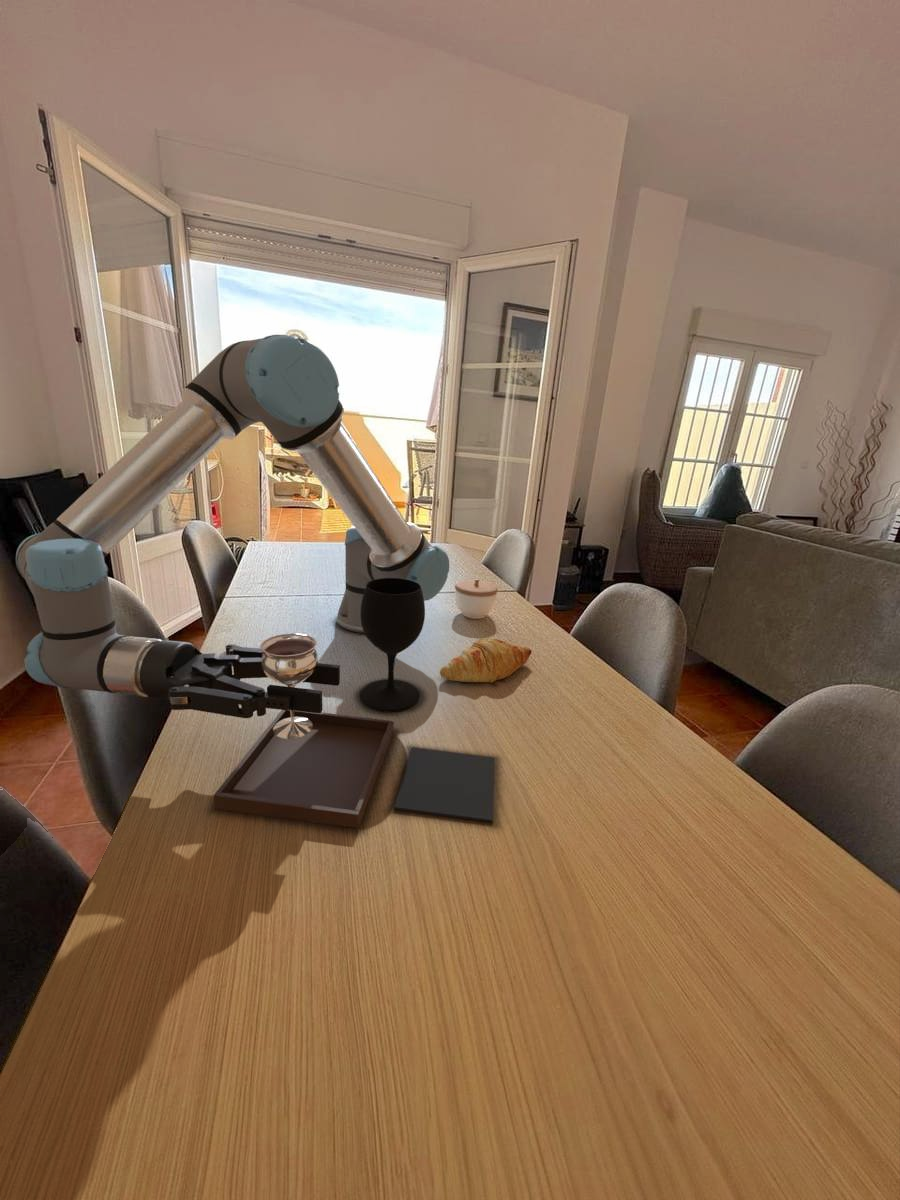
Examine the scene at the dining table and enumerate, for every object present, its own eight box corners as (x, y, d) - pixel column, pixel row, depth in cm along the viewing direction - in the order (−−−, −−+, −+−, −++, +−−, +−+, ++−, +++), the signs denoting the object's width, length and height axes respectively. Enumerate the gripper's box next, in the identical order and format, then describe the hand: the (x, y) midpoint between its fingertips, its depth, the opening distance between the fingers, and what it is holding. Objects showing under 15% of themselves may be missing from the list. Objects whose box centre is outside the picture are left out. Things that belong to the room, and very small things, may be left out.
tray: (284, 718, 75) (283, 707, 74) (393, 732, 73) (393, 720, 73) (214, 809, 56) (213, 795, 56) (358, 828, 55) (358, 814, 55)
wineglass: (253, 731, 62) (247, 647, 58) (292, 707, 68) (288, 629, 64) (293, 749, 59) (289, 661, 55) (330, 722, 65) (329, 641, 61)
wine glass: (412, 716, 78) (418, 599, 71) (350, 707, 79) (351, 591, 72) (425, 685, 87) (432, 580, 81) (370, 677, 89) (372, 573, 82)
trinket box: (496, 623, 119) (500, 587, 116) (452, 620, 119) (455, 584, 116) (492, 608, 129) (496, 575, 126) (453, 605, 129) (455, 572, 126)
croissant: (447, 706, 88) (461, 681, 82) (424, 662, 93) (435, 636, 88) (534, 679, 99) (551, 656, 93) (509, 642, 104) (524, 618, 99)
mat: (411, 749, 70) (411, 747, 70) (493, 759, 69) (494, 757, 69) (393, 809, 58) (394, 807, 58) (492, 822, 58) (492, 820, 57)
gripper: (202, 661, 73) (352, 678, 71) (105, 736, 55) (302, 760, 53) (197, 615, 70) (352, 631, 69) (93, 677, 52) (299, 701, 51)
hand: (330, 688), depth 61 cm, fingers closed on wineglass, 6 cm apart
